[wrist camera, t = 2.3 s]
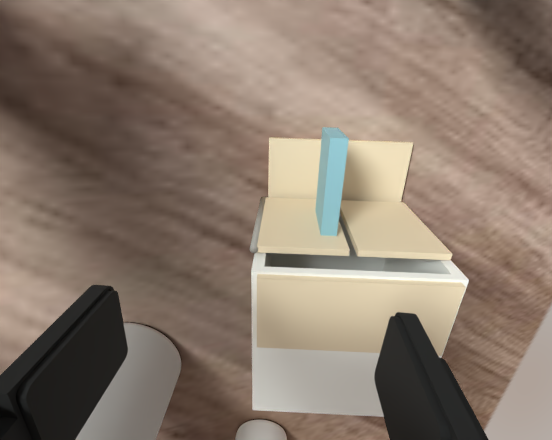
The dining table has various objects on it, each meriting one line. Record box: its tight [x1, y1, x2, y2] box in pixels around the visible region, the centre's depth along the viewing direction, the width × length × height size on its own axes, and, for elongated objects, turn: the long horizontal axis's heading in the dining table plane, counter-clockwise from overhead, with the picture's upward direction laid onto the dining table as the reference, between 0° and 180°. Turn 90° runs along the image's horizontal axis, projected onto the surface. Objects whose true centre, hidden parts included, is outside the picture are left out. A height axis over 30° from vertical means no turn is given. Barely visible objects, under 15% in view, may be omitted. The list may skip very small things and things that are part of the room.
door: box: [250, 127, 350, 256], centre depth 24 cm, size 8×7×10 cm
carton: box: [251, 137, 469, 417], centre depth 27 cm, size 20×14×13 cm
